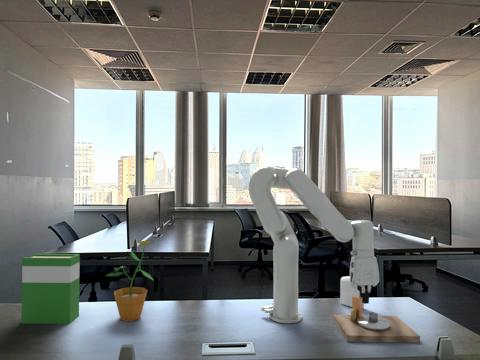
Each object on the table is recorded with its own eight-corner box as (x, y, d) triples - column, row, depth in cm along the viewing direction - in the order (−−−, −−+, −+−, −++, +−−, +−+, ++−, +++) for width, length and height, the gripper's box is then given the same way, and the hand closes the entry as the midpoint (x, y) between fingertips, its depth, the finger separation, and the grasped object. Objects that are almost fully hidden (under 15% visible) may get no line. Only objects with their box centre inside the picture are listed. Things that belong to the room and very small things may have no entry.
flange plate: (396, 325, 124) (396, 302, 124) (379, 333, 117) (380, 309, 117) (361, 314, 135) (361, 293, 135) (345, 321, 128) (345, 299, 128)
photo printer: (338, 303, 153) (338, 275, 153) (344, 301, 155) (344, 273, 155) (359, 310, 145) (360, 280, 145) (365, 308, 147) (365, 278, 147)
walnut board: (347, 341, 116) (347, 323, 116) (333, 320, 134) (333, 304, 134) (419, 342, 116) (420, 324, 116) (396, 321, 134) (396, 305, 134)
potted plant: (159, 309, 144) (160, 236, 144) (145, 328, 125) (146, 244, 126) (116, 308, 145) (117, 235, 145) (96, 327, 126) (97, 243, 126)
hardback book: (21, 323, 129) (22, 257, 129) (33, 315, 136) (34, 253, 136) (69, 323, 129) (70, 258, 129) (78, 316, 136) (79, 254, 136)
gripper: (351, 256, 126) (353, 308, 126) (386, 253, 130) (388, 303, 130) (340, 253, 133) (341, 301, 133) (373, 250, 137) (374, 297, 137)
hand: (364, 302), depth 131 cm, fingers closed
